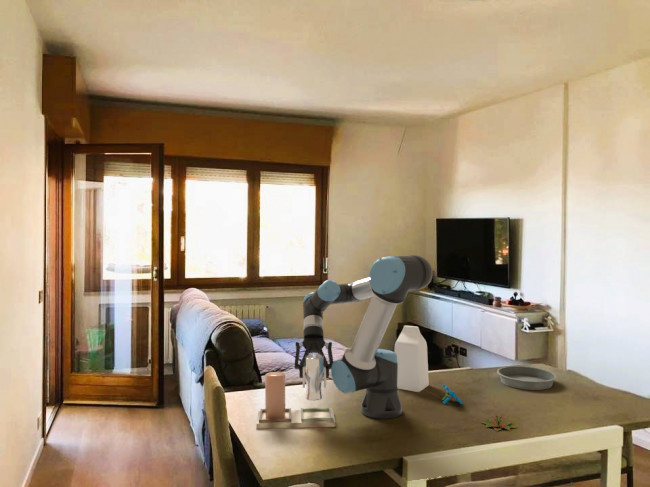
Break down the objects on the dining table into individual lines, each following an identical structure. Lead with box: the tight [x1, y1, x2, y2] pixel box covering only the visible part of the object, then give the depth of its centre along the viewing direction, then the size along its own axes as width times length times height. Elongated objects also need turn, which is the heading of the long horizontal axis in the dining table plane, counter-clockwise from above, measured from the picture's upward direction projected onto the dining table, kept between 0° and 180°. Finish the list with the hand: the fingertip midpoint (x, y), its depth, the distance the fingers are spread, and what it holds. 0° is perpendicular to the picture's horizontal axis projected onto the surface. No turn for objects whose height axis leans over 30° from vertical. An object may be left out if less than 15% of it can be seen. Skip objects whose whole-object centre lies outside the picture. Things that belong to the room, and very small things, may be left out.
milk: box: [393, 325, 430, 393], centre depth 233 cm, size 12×12×26 cm
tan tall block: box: [264, 371, 286, 419], centre depth 191 cm, size 7×7×15 cm
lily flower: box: [480, 412, 518, 432], centre depth 187 cm, size 12×12×5 cm
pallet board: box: [256, 407, 336, 429], centre depth 192 cm, size 27×13×3 cm, turn 94°
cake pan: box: [496, 365, 558, 391], centre depth 239 cm, size 25×25×4 cm
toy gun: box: [441, 383, 464, 405], centre depth 211 cm, size 11×6×10 cm
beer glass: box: [304, 353, 325, 402], centre depth 193 cm, size 7×7×15 cm
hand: (314, 385), depth 189 cm, fingers closed on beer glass, 7 cm apart
